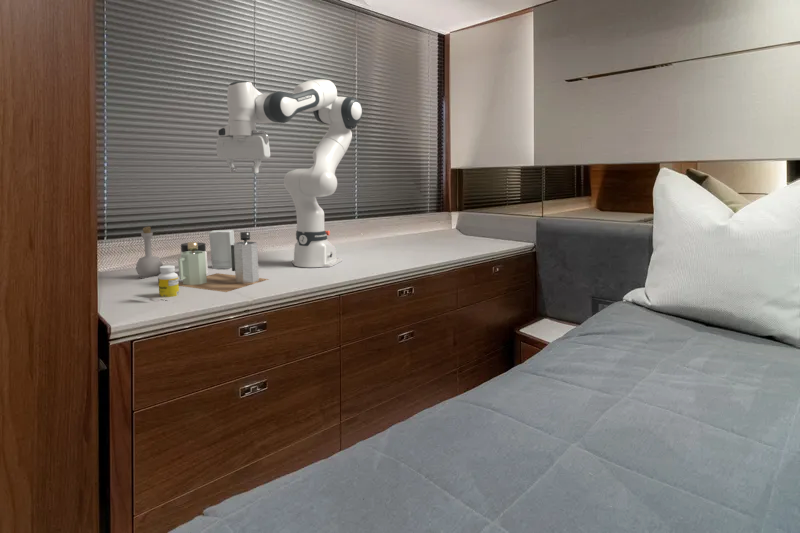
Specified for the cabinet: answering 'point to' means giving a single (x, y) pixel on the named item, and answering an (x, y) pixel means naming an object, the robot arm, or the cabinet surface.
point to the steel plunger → (245, 236)
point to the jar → (200, 248)
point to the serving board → (220, 283)
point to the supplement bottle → (168, 282)
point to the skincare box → (221, 248)
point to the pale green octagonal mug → (192, 268)
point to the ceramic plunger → (192, 246)
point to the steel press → (245, 262)
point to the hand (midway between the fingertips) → (244, 172)
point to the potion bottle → (148, 258)
